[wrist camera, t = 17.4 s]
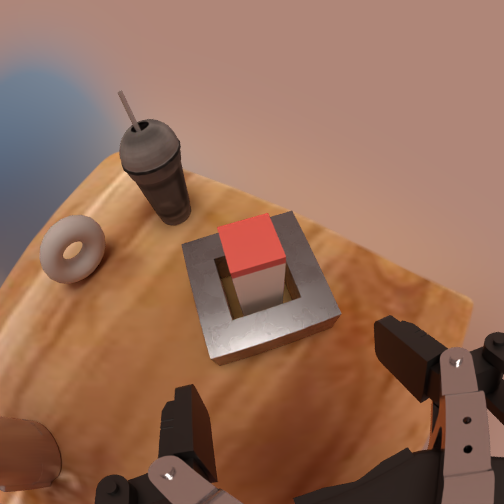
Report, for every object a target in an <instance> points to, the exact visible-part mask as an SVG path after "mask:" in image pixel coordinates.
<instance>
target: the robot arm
mask: <svg viewBox="0 0 504 504" xmlns="http://www.w3.org/2000/svg"><path fill="white" fill-rule="evenodd" d="M374 338H375V352H376V355H377V358H378V359H379V361H380V362H381V363H382V364H383V365H384V366H385V367H386V368H387V369H388V370H389V371H390V372H391V373H392V374H393V375H394V376H395V377H396V378H397V379H398V380H399V381H400V382H401V383H402V384H403V385H404V386H405V387H406V389H407V390H408V391H409V392H410V393H411V394H412V395H413V396H414V397H415V398H416V399H417V400H418V401H419V402H420V403H422V402H423V401H425V400H427V399H428V398H430V399H431V400H432V404H431V425H430V439H429V445H428V449H427V450H422V451H417V452H413V453H412V452H411V451H410V450H409V449H408V447H407V448H405V449H404V450H402V451H400V452H399V453H397V454H395V455H393V456H391V457H390V458H388V459H386V460H384V461H382V462H381V463H380V464H379V465H377V466H376V467H375V468H374V469H372V470H371V471H370V472H368V473H367V474H366V475H365V476H363V477H362V478H361V479H359V480H357V481H355V482H351V483H346V484H341V485H336V486H331V487H325V488H322V489H319V490H316V491H313V492H310V493H308V494H305V495H302V496H298V497H295V498H293V499H294V502H295V504H504V457H491V456H490V437H489V425H488V416H487V409H488V410H489V411H490V412H491V413H492V414H493V415H494V416H495V417H496V418H497V419H498V420H499V421H500V422H501V423H502V424H503V425H504V380H503V379H502V377H503V374H504V333H500V332H496V333H492V334H489V335H488V336H487V337H486V338H485V342H484V346H483V347H481V348H478V349H476V350H473V351H470V352H469V351H467V350H466V349H464V348H460V347H454V348H449V349H448V348H446V347H445V346H444V345H442V344H441V343H440V342H438V341H437V340H435V339H434V338H433V337H431V336H430V335H427V333H426V332H424V331H423V330H421V329H420V328H419V327H417V326H416V325H414V324H413V323H409V322H406V321H401V322H400V321H398V320H397V319H396V318H394V317H393V316H391V315H389V316H387V317H384V318H382V319H380V320H378V321H376V322H375V323H374ZM160 428H161V430H160V440H159V455H158V459H157V460H155V461H154V462H153V463H152V464H151V466H150V467H149V470H148V473H146V474H144V475H142V476H139V477H136V478H133V479H130V480H128V481H127V480H126V479H125V478H124V477H122V476H120V475H110V476H107V477H105V478H103V479H102V480H101V481H100V482H99V484H98V486H97V489H96V497H95V504H243V503H242V502H240V501H239V500H237V499H236V498H234V497H233V496H231V495H230V494H228V493H227V492H225V491H224V490H222V489H218V488H216V487H215V486H213V485H212V484H211V483H213V482H218V480H217V473H216V466H215V458H214V450H213V441H212V432H211V423H210V417H209V414H208V411H207V409H206V407H205V405H204V403H203V401H202V399H201V397H200V395H199V393H198V392H197V390H196V388H195V386H194V385H193V384H191V385H186V386H182V387H178V388H176V389H175V400H174V401H169V402H167V403H166V405H165V407H164V408H163V410H162V415H161V427H160ZM60 469H61V458H60V453H59V450H58V447H57V444H56V442H55V440H54V438H53V437H52V435H51V433H50V432H49V431H48V430H47V429H46V428H45V427H44V426H43V425H42V424H40V423H38V422H35V421H30V420H24V419H22V420H21V419H14V418H7V417H1V416H0V490H1V491H3V492H12V491H22V490H30V489H37V488H43V487H49V486H50V485H51V481H53V480H54V479H56V478H57V477H58V475H59V473H60Z"/></svg>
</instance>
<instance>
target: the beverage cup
mask: <svg viewBox="0 0 504 504" xmlns="http://www.w3.org/2000/svg"><path fill="white" fill-rule="evenodd" d="M118 95H119V97H120V98H121V101H122V103H123V105H124V107H125V109H126V111H127V114H128V116H129V118H130V120H131V122H132V124H133V125H132V126H131V127H130V128H129V129H128V130H127V131H126V132H125V134H124V136H123V137H122V140H121V143H120V159H121V163H122V167H123V169H124V171H125V172H127V173H128V175H129V176H130V177H131V178H132V179H133V180H134V181H135V182H136V183H137V185H138V186H139V188H140V189H141V191H142V192H143V194H144V195H145V197H146V198H147V200H148V201H149V203H150V204H151V205H152V207H153V208H154V210H155V211H156V213H157V214H158V216H160V218H161V219H162V220H163V222H165V223H166V224H168V225H177V224H180V223H182V222H184V221H185V220H186V219H187V218H188V217H189V215H190V212H191V207H190V201H189V196H188V192H187V187H186V183H185V178H184V174H183V169H182V165H181V152H180V147H181V146H180V141H179V140H178V138H177V136H176V135H175V133H174V132H173V131H172V129H171V128H170V127H169V126H168V125H166V124H165V123H163V122H160V121H158V120H153V119H147V120H142V121H139V122H137V121H136V120H135V117H134V115H133V113H132V111H131V109H130V107H129V105H128V103H127V101H126V98H125V96H124V94H123V92H122V91H119V92H118Z"/></svg>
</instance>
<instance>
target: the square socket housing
mask: <svg viewBox="0 0 504 504" xmlns="http://www.w3.org/2000/svg"><path fill="white" fill-rule="evenodd" d="M270 219H271V221H272V224H273V226H274V228H275V231H276V233H277V236H278V238H279V241H280V243H281V245H282V248H283V250H284V253H285V255H286V266H285V278H284V281H285V283H286V286H287V288H288V291H289V293H290V296H291V298H292V301H289V302H286V303H283V304H281V305H278V306H275V307H272V308H269V309H266V310H263V311H260V312H257V313H254V314H251V315H247V316H244V317H241V318H238V319H235V320H234V319H233V315H232V312H231V309H230V306H229V303H228V299H227V296H226V293H225V290H224V286H223V283H222V280H221V279H222V278H225V277H228V276H231V274H230V271H229V267H228V264H227V260H226V257H225V253H224V250H223V246H222V243H221V239H220V236H219V233H216V234H213V235H210V236H207V237H203V238H200V239H197V240H194V241H191V242H188V243H185V244H182V249H183V254H184V258H185V262H186V267H187V271H188V275H189V279H190V284H191V288H192V292H193V296H194V300H195V304H196V308H197V312H198V315H199V319H200V323H201V327H202V330H203V334H204V338H205V341H206V345H207V348H208V352H209V355H210V359H211V360H213V361H214V362H215V363H217V364H218V365H220V366H221V365H224V364H227V363H231V362H234V361H237V360H241V359H244V358H247V357H250V356H253V355H257V354H260V353H263V352H266V351H269V350H272V349H275V348H277V347H280V346H283V345H286V344H289V343H292V342H294V341H297V340H300V339H303V338H305V337H308V336H311V335H313V334H316V333H318V332H321V331H324V330H326V329H329V328H331V327H332V326H333V325H334V323H335V322H336V321H337V319H338V318H339V317H340V315H341V312H340V310H339V308H338V305H337V303H336V301H335V299H334V296H333V294H332V292H331V290H330V288H329V286H328V283H327V281H326V279H325V277H324V275H323V273H322V271H321V268H320V266H319V264H318V262H317V260H316V258H315V256H314V254H313V252H312V250H311V248H310V246H309V244H308V242H307V240H306V238H305V235H304V233H303V231H302V229H301V227H300V225H299V223H298V221H297V220H296V218H295V216H294V214H293V212H292V211H289V212H286V213H283V214H279V215H276V216H272V217H270Z"/></svg>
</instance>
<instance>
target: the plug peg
mask: <svg viewBox="0 0 504 504" xmlns="http://www.w3.org/2000/svg"><path fill="white" fill-rule="evenodd" d="M217 229H218V232H219V236H220V239H221V243H222V246H223V250H224V253H225V257H226V260H227V264H228V267H229V271H230V274H231V277H232V280H233V284H234V287H235V290H236V293H237V296H238V300H239V303H240V306H241V309H242V312H243V315H244V316H247V315H251V314H254V313H257V312H260V311H263V310H266V309H269V308H272V307H275V306H278V305H281V304H282V302H283V290H284V278H285V266H286V255H285V253H284V250H283V248H282V245H281V243H280V241H279V238H278V236H277V233H276V231H275V228H274V226H273V224H272V221H271V219H270V216H269V214H268V213H266V214H262V215H259V216H255V217H252V218H248V219H244V220H241V221H237V222H234V223H230V224H227V225H223V226H220V227H217Z"/></svg>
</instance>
